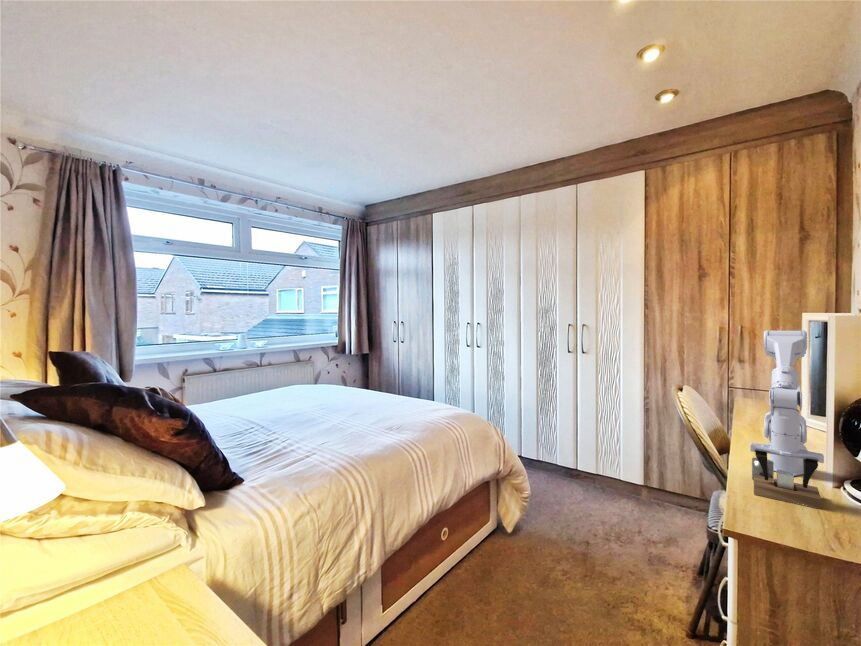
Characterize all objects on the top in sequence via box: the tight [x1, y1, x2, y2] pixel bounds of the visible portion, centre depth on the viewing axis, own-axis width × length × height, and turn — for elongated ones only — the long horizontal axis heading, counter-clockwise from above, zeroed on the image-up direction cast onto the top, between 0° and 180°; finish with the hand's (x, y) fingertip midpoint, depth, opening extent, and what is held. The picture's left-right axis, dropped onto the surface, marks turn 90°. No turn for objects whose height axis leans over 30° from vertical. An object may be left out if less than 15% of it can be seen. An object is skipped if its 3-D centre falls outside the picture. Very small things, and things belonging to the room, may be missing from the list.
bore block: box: [753, 475, 823, 510], centre depth 104 cm, size 9×13×2 cm
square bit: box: [776, 470, 795, 491], centre depth 104 cm, size 3×3×6 cm
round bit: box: [751, 457, 775, 481], centre depth 114 cm, size 5×5×6 cm
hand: (785, 482), depth 104 cm, fingers open, 7 cm apart
